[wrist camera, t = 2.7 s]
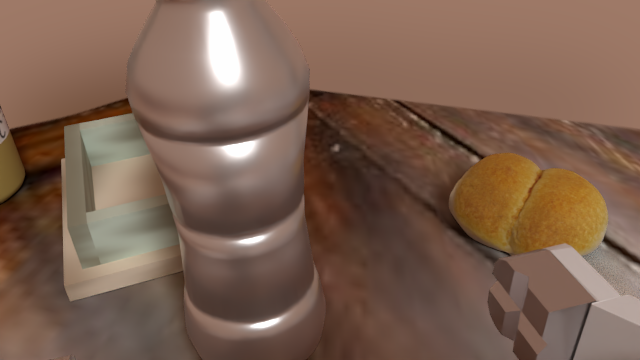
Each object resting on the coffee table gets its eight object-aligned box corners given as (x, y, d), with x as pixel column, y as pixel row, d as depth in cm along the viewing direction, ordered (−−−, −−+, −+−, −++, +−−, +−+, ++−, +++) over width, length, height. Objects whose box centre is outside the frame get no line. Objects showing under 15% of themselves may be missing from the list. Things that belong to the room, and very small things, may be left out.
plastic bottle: (335, 392, 27) (317, -66, 16) (187, 409, 27) (59, -49, 15) (320, 292, 32) (299, -105, 21) (197, 305, 32) (107, -93, 21)
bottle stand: (248, 133, 47) (242, 85, 45) (307, 236, 36) (303, 181, 34) (66, 172, 43) (49, 123, 41) (70, 301, 33) (47, 244, 30)
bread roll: (580, 291, 32) (596, 235, 30) (432, 233, 37) (436, 181, 34) (618, 212, 37) (635, 160, 35) (485, 170, 42) (492, 122, 40)
